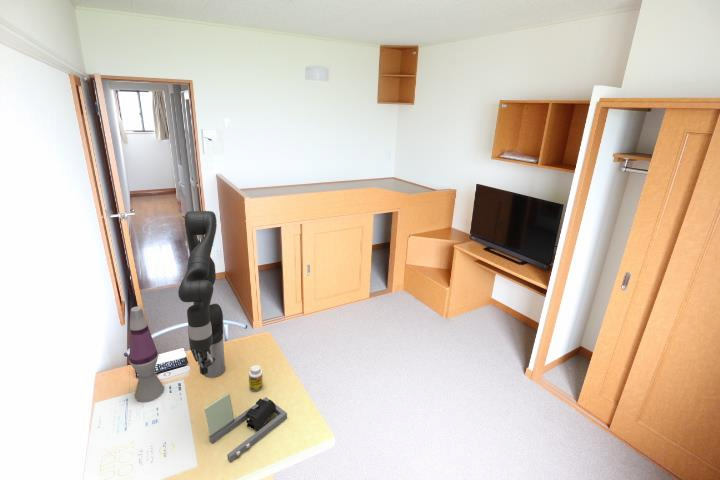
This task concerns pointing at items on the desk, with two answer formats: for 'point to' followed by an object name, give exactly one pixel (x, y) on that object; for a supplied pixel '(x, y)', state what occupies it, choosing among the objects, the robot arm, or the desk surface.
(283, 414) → the grey frame
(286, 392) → the desk surface
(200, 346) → the robot arm
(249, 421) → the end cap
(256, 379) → the supplement bottle
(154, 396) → the lamp
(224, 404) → the lid
